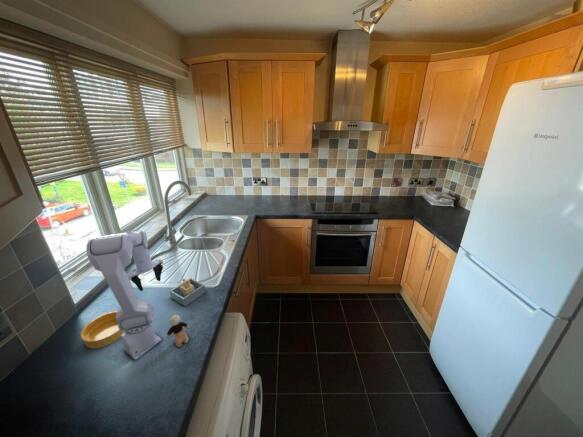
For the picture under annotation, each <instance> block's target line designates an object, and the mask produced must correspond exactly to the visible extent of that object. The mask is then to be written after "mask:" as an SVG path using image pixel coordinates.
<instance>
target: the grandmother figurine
mask: <svg viewBox="0 0 583 437" xmlns="http://www.w3.org/2000/svg"><path fill="white" fill-rule="evenodd" d="M169 324H170V326H171V327H170V328H168V331H167V332H166V333H167V334H166V339H170V337H171V335H172V334H173V337H174V341H175V346H176V347H177V348H180V347H182V346H183V344H187V343H188V342H189V336H187V333H186V331H185V328H186V329H187V330H189V329H190V325H189V324H188V323H186V322H183V321H181V317H180V315H178V314H175V315H172V316H171V317H170V319H169Z"/></svg>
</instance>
